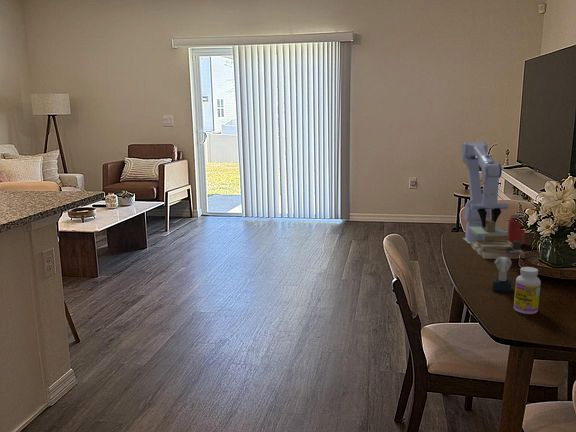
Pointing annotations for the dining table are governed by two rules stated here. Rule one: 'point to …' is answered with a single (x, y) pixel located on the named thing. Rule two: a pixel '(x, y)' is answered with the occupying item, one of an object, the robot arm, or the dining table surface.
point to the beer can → (515, 230)
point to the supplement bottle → (527, 291)
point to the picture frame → (494, 249)
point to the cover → (488, 229)
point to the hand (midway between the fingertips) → (488, 226)
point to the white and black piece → (502, 275)
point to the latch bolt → (515, 246)
